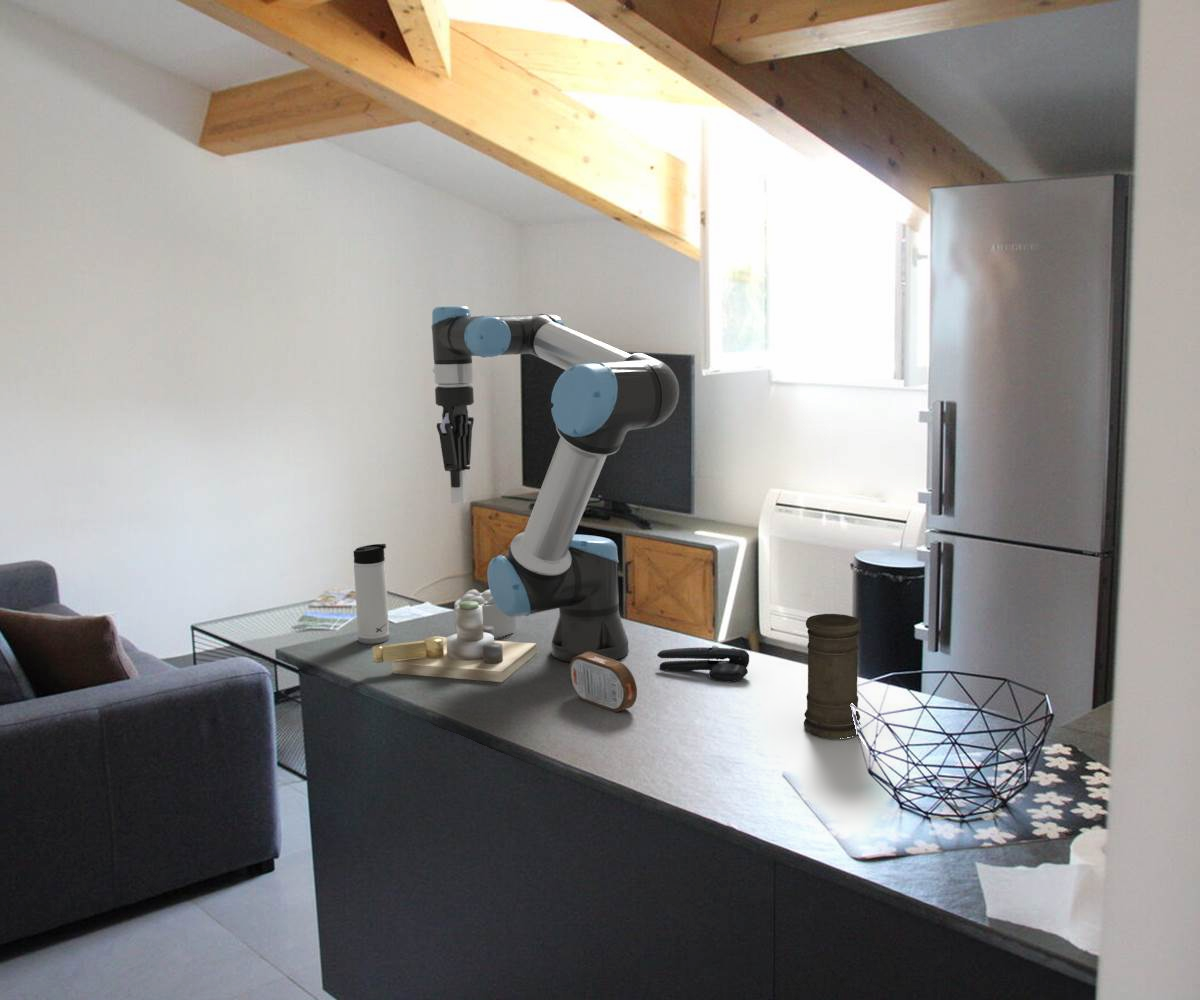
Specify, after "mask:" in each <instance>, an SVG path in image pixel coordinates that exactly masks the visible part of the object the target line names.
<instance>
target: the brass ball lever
mask: <svg viewBox="0 0 1200 1000" xmlns="http://www.w3.org/2000/svg"><path fill="white" fill-rule="evenodd" d="M441 637H442V636H438V637H434V636H429V637H426V638H424V639H422V640H416V641H407V642H400V643H391V644H383V645H374V646H372V661H373V663H375V664H381V663H386V662H388V663H389V662H394V661H396V660H403V659H411V658H419V657H428V658H437V657H441V656H443V655H444V648H443V638H441Z"/></svg>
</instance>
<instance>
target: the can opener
mask: <svg viewBox="0 0 1200 1000" xmlns="http://www.w3.org/2000/svg"><path fill="white" fill-rule="evenodd" d="M656 655H657V657H658V658H661V659H686V660H673V661H672V660H669V661H663V662H661V663H660V664H659V669H660V670H663V671H670V672H671V671H672V672H689V671H690V672H691V671H704V670H705V671H709V673H708V677H709V678H710V679H711V680H713V681H718V682H724V683H725V682H727V683H728V682H737V681H740V680H742V679H744V677H745V676H746V675H747V674H748V669H747V667H748V666H749V663H750V655H749V653H748V652H747V651H746V650H744V649H741V648H736V647H730V648H729V647H728V648H727V647H719V646H717V645H712V646H711V647H683V648H670V649H663V650H660V651H659V652H658V653H657V654H656ZM692 659H693V660H692ZM726 659H728V660H726Z"/></svg>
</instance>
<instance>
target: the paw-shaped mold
mask: <svg viewBox="0 0 1200 1000" xmlns="http://www.w3.org/2000/svg"><path fill="white" fill-rule="evenodd" d="M465 601H475V602H478V605H481V606H482V614H483V626H492V627H494V638H496V639H499V638H498V637H500V638H503V637H502V636H504V637H506V636H505V635H507V636H509V635H508V634H510V635H512V634H511V633H513V634H515V633H517V632H518V617H510V616H507V615H505V614H504V613H503V612H502V611H501V610H500V609H499V608H498V607H497V605H496V604H495V602H494V600H493V598H492V595H491V592H490V588H489V589H486V590H484V591H483V592H480V591H478V590H477V589H470V590H468V591H467V592H465V594H464V595H463V596H461V597H460V598H459V599H456V600H455V602H454V604H453V605H454V627H455V634H457V626H456V607H458V606H459V604H460V603H461V602H465ZM516 631H517V632H516ZM514 632H515V633H514Z"/></svg>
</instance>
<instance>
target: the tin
mask: <svg viewBox="0 0 1200 1000" xmlns="http://www.w3.org/2000/svg"><path fill="white" fill-rule="evenodd" d="M569 680H570V685H571V688H572V689H573V691H574V692H575V694H576V695H577V696H578V697H579V698H580V699H581V700H583V701H585V702H587V703H590V704H592V705H595V706H598V707H600V708H603V709H605V710H608V711H611V712H615V713H616V712H618V713H619V712H622V711H624V710H626V709H630V708H632V707H633V706H634V705H635V703H636V701H637V696H638V688H637V683H636V680H635V678H634V675H633V673H632V672H631V671H630V669H629V667H627V666H626V665H625V664H624V663H622V661H621V662H620V661H618V660H613V659H610V658H607V657H604V656H601V655H598V654H596V653H593V652H585V653H583V654H581V655H578V656H576V657H575V658H573V659H572V661H571V662H569Z"/></svg>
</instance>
